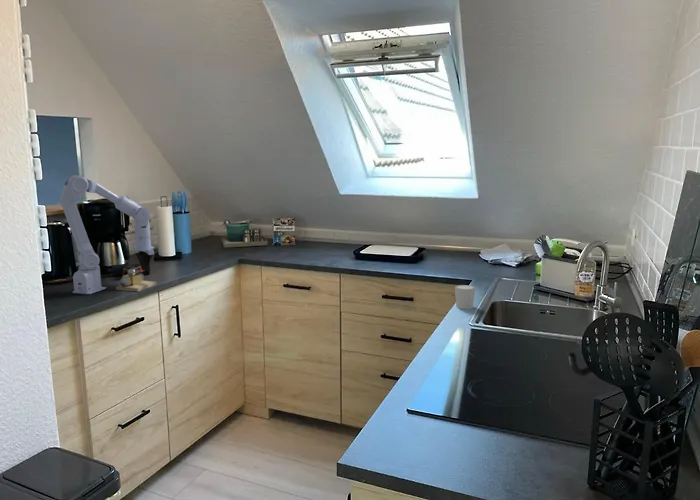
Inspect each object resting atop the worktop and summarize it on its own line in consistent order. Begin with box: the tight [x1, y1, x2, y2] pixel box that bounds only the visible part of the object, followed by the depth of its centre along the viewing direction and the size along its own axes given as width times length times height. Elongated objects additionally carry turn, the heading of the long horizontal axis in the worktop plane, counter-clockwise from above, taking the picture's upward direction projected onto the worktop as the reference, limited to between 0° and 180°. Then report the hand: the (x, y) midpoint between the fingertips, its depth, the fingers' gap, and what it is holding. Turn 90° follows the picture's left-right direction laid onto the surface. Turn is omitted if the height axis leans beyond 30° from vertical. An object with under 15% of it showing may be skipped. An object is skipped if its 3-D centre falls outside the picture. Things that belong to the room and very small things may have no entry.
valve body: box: [119, 273, 145, 287], centre depth 215 cm, size 10×5×4 cm, turn 163°
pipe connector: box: [111, 263, 151, 277], centre depth 233 cm, size 12×5×15 cm
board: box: [115, 280, 158, 292], centre depth 215 cm, size 12×10×1 cm
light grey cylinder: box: [454, 284, 476, 310], centre depth 186 cm, size 7×7×7 cm
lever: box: [128, 266, 145, 275], centre depth 218 cm, size 9×3×2 cm, turn 167°
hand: (145, 270), depth 219 cm, fingers closed
